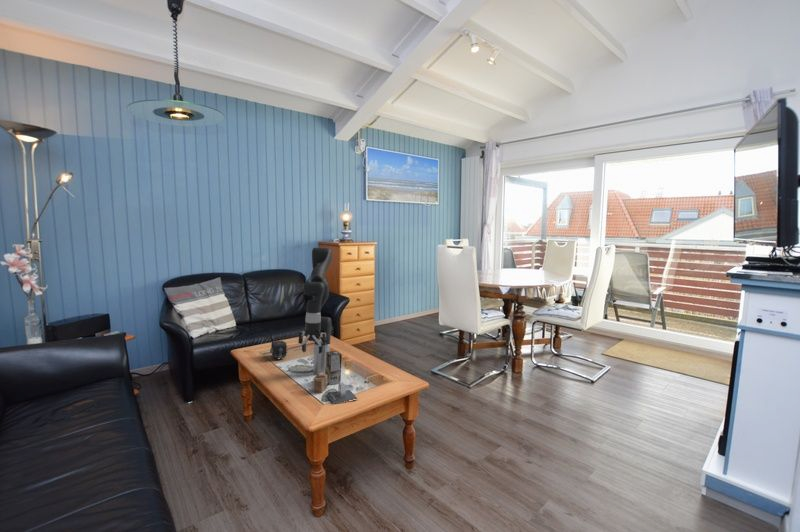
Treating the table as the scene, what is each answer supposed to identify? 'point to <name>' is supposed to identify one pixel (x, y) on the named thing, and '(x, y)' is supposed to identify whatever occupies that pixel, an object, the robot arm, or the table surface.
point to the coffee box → (333, 367)
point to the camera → (278, 349)
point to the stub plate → (341, 399)
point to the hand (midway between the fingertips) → (312, 352)
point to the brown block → (320, 383)
